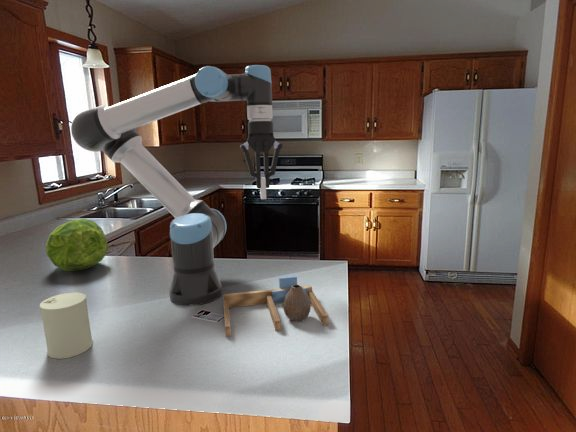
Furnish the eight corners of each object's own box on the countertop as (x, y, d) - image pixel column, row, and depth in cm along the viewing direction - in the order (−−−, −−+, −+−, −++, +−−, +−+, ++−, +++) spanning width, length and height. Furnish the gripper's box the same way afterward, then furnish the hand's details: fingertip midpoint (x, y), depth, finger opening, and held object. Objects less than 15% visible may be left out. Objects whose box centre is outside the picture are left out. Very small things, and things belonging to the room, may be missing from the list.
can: (59, 338, 95) (51, 291, 93) (99, 336, 96) (92, 289, 93) (38, 360, 86) (29, 308, 84) (83, 357, 87) (75, 305, 84)
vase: (314, 314, 104) (313, 282, 102) (306, 326, 98) (305, 292, 96) (289, 311, 106) (288, 279, 105) (279, 322, 100) (278, 289, 98)
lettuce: (91, 257, 161) (75, 214, 156) (122, 259, 146) (106, 212, 142) (41, 278, 146) (23, 231, 142) (70, 282, 132) (50, 231, 128)
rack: (225, 336, 94) (224, 322, 93) (223, 306, 111) (223, 294, 110) (327, 324, 98) (327, 311, 97) (311, 297, 115) (311, 285, 114)
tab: (280, 298, 113) (279, 278, 112) (279, 297, 115) (278, 277, 113) (297, 296, 114) (296, 277, 113) (296, 295, 115) (296, 275, 114)
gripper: (239, 120, 115) (243, 201, 120) (283, 119, 117) (286, 199, 122) (237, 121, 122) (241, 197, 127) (279, 120, 124) (282, 195, 129)
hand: (263, 198), depth 125 cm, fingers closed
